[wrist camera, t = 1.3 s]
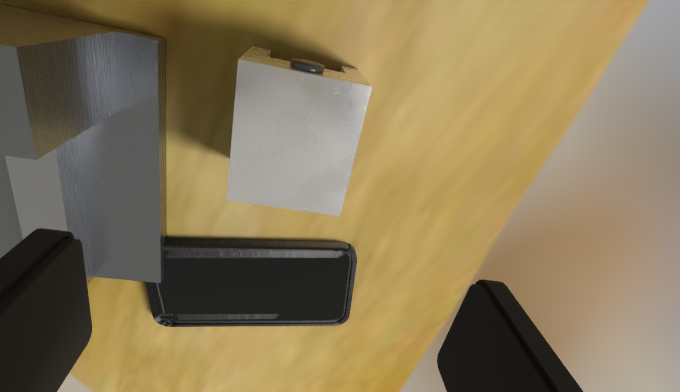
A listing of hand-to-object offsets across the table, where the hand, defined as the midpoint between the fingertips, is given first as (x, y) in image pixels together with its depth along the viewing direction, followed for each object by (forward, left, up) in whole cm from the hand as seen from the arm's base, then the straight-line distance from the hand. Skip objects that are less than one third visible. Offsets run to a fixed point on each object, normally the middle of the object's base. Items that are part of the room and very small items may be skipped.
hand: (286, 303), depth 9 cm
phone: (+13, -1, -16) cm, 20 cm away
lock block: (0, 0, -15) cm, 15 cm away
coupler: (+5, -13, -15) cm, 20 cm away
